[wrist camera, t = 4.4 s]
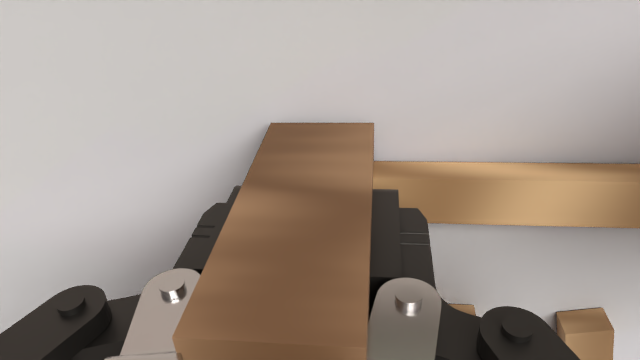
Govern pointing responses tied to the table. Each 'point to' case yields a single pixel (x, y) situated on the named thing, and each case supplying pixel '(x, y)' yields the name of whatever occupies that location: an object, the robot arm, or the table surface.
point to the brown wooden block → (579, 331)
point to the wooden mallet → (358, 235)
